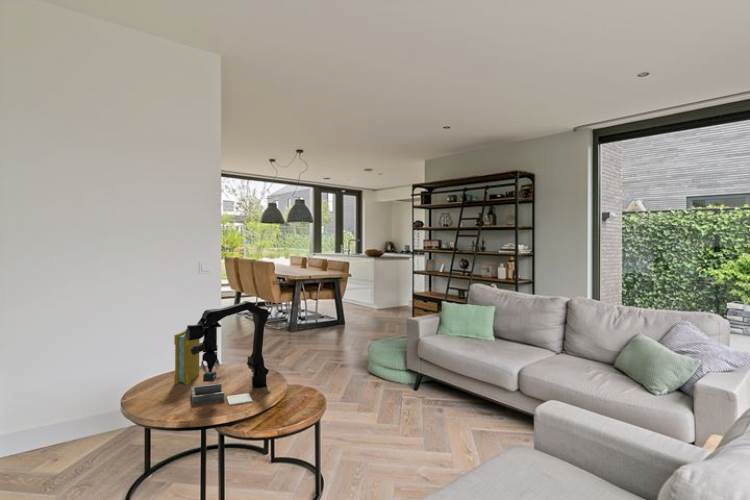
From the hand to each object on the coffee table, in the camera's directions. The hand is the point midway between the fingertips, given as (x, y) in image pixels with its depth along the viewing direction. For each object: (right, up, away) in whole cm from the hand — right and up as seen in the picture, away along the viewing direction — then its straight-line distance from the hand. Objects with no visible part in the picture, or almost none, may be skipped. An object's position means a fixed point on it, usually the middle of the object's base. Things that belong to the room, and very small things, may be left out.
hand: (210, 370), depth 190 cm
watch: (0, -5, 0) cm, 5 cm away
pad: (+14, -13, -2) cm, 19 cm away
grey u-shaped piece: (-1, -13, 0) cm, 13 cm away
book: (-22, -12, +25) cm, 35 cm away
